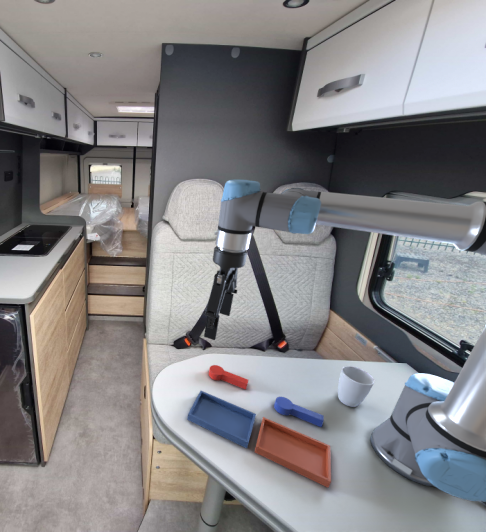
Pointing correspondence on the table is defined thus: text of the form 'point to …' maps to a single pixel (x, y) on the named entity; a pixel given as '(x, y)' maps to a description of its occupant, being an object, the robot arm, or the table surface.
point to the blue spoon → (297, 411)
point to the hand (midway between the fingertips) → (217, 325)
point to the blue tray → (222, 418)
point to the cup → (354, 385)
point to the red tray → (295, 451)
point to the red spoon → (227, 376)
